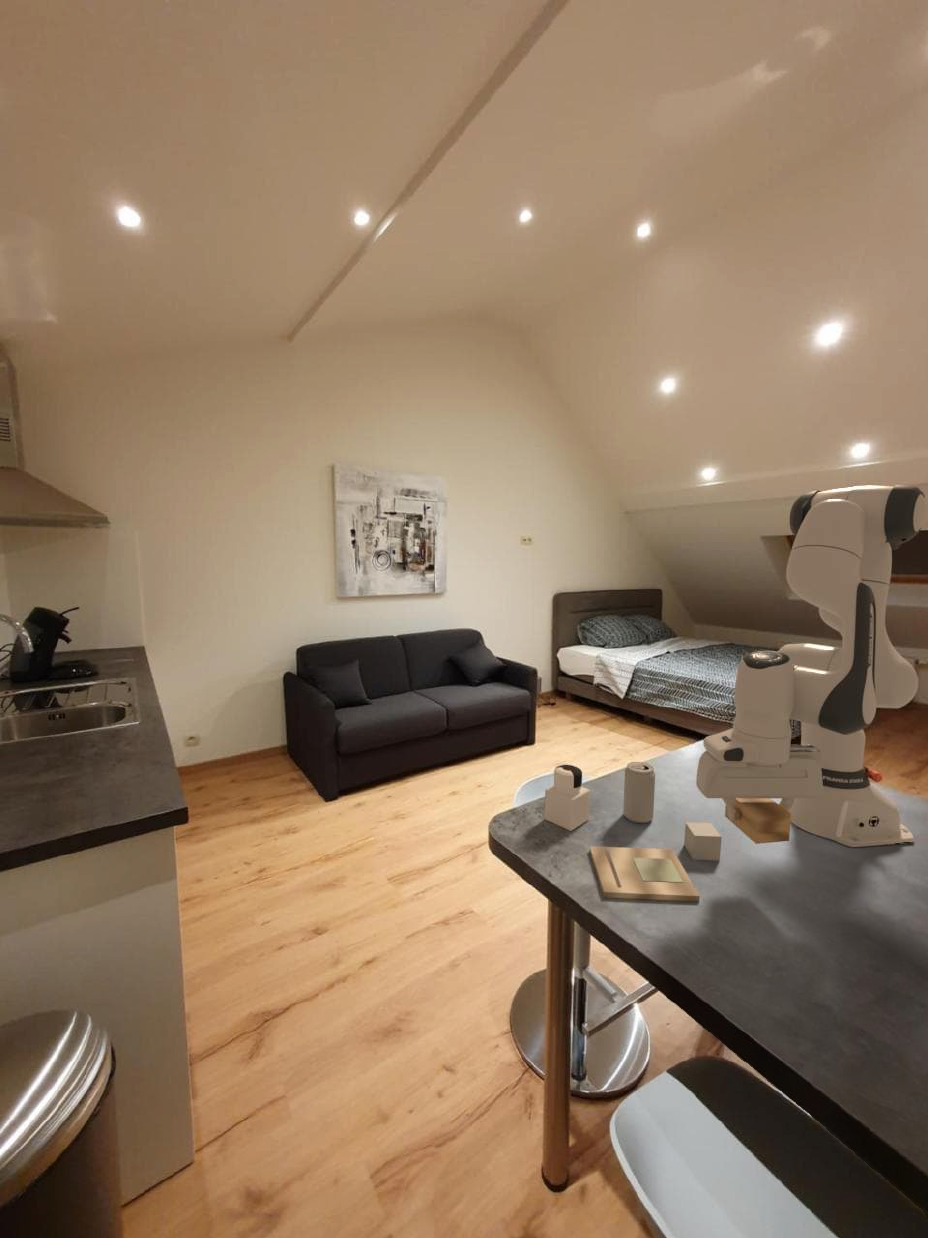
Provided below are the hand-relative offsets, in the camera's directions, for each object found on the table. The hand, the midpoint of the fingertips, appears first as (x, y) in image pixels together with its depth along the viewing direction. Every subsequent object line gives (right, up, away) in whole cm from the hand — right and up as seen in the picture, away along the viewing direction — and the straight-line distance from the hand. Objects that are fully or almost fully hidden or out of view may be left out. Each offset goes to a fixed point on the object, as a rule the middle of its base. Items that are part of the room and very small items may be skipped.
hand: (756, 818), depth 94 cm
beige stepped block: (-29, -9, +23) cm, 38 cm away
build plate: (-20, -12, +3) cm, 23 cm away
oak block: (0, -2, 0) cm, 2 cm away
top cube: (-5, -11, +10) cm, 16 cm away
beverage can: (-13, -9, +24) cm, 29 cm away
